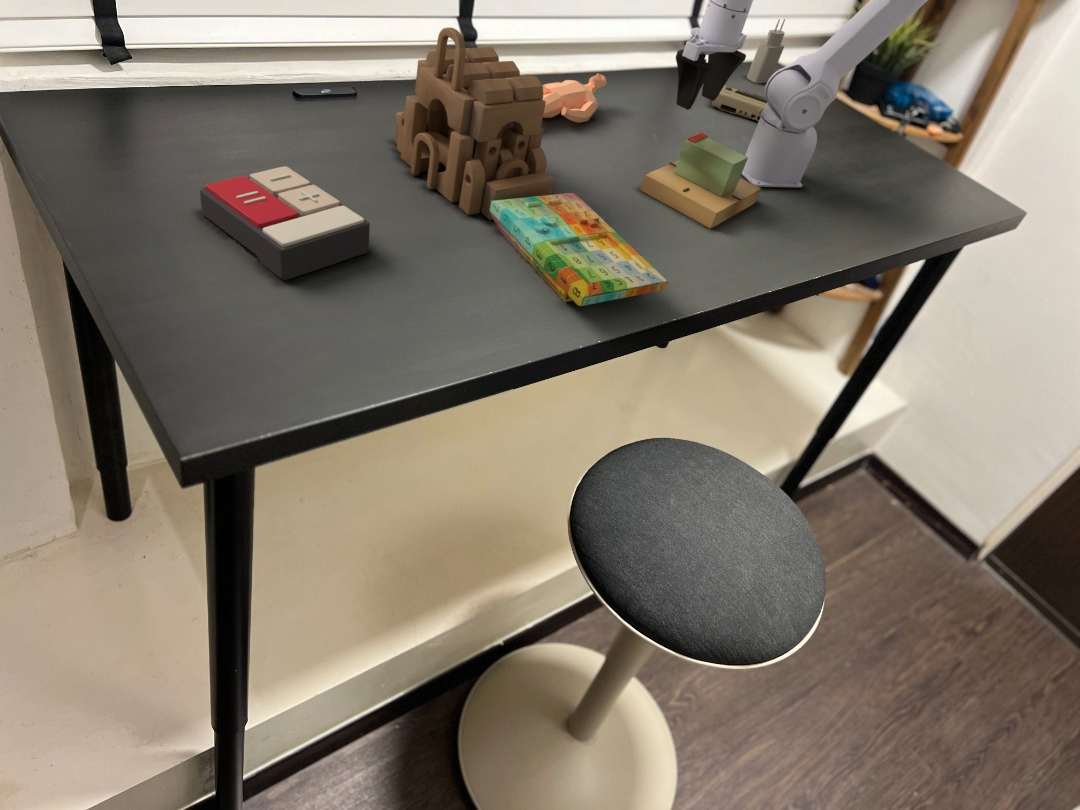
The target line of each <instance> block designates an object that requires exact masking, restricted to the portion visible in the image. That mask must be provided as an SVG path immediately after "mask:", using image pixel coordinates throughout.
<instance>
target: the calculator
mask: <svg viewBox="0 0 1080 810" xmlns="http://www.w3.org/2000/svg"><path fill="white" fill-rule="evenodd" d="M199 197H200V206H201V212H202V213H201V214H202V216H204V217H205V218H207V219H208V220H209V221H211V222H212V223H213V224H214V225H216V226H217V227H218V228H220V229H221V230H223V231H224V232H225V233H226V234H228V235H229V236H230V237H231V238H233V239H234V240H235V241H237V242H238V243H240V244H241V245H242V246H243V247H245V248H246V249H247V250H249V251H250V252H251V253H253V254H254V255H255V256H257V259H258V260H259V261H260V263H261V264H262V266H263V267H265V268H266V269H267V270H269V271H270V272H271V273H273V274H274V275H276V276H277V277H278V278H279V279H281V280H283V281H288V280H291V279H294V278H297V277H299V276H303V275H305V274H309V273H312V272H315V271H318V270H320V269H322V268H323V269H324V268H326V267H329V266H331V265H335V264H337V263H341V262H343V261H347V260H349V259H352V258H355V257H358V256H361V255H364V254H367V253H368V252H369V251H370V229H371V227H370V226H371V225H370V224H371V223H370V222H369V221H368V220H367V219H365V218H364V217H362V216H361V215H359V214H358V213H356V212H355V211H354V210H352V209H350V208H349V207H347V206H346V205H344V204H343V203H341V202H340V200H338V199H337V198H336V197H334V196H332V195H331V194H329V193H328V192H326V191H325V190H323V189H322V188H320V187H319V186H318V185H315V184H312V183H311V181H310V180H308V179H307V178H305V177H303V176H302V175H300V174H299V173H297V172H296V171H294V170H293V169H291V168H290V167H288V166H286V165H285V166H280V167H275V168H271V169H267V170H263V171H258V172H254V173H250V174H249V176H245V175H240V176H236V177H232V178H227V179H223V180H219V181H215V182H210V183H207V184H205V187H201V188H200V189H199Z"/></svg>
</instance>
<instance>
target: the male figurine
mask: <svg viewBox="0 0 1080 810" xmlns="http://www.w3.org/2000/svg"><path fill="white" fill-rule="evenodd" d="M606 85H607V77H606V76H605V75H603V74H600V73H596V75H593V76H591V77H590V78H589V80H588V83H587V84H582V83H581V82H579V81H578V80H574V79H573V80H572V79H565V80H564V81H562V82H559V81H557V82H550V83H545V84H542V86H543V100H544V101H546V104H545V109H544V113H543V118H544V119H551V118H554V117H555V116H557V115H560V114H561V116H563V117H564V118H565V119H567V120H569V121H572V122H574V123H584V122H588V121H590V119H591V118H592V116H593V115H594V113H595V112H596V111H597V109H598V100H597V99H596V97H595V95H594V94H596V91H597V90H598V89H601V88H603V87H605V86H606Z"/></svg>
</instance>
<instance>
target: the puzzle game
mask: <svg viewBox="0 0 1080 810" xmlns="http://www.w3.org/2000/svg"><path fill="white" fill-rule="evenodd" d="M489 211H490V213H491V215H492V218H493V220H492V221H493V222H494V223H495V225H496V227H497V228H498V230H499V231H500V233H501V235H503V237H504V238H505V239H506V240H507V241H508V242H509V243H510V244H511V245H512V246H513V247H514V248H515V250H516V251H517V252H518V253H519V254H520V255H521V256H522V257H523V259H525V261H527V263H528V264H529V265H530V266H531V267H532V268H533V269H534V270H535V271H536V272H537V273H538V274H539V275H540V277H541V278H542V279H543V280H544V281H545V282H546V283H547V284H548V285H549V286H550V288H552V290H554V292H555V293H556V294H557V295H558V296H559V297H560V298H561V299H562V301H564V302H565V303H569V302H574V304H575V305H576V306H578V307H583V306H589V305H595V304H599V303H605V302H610V301H614V300H620V299H625V298H629V297H635V296H640V295H645V294H651V293H656V292H660V291H666V290H667V286H668V285H669V284H668V283H669V281H668V280H667V279H666V278H665V277H664V276H663V275H662V274H660V272H658V270H656V269H655V268H654V267H653V266H652V265H651V264H650V263H649V262H648V261H647V260H646V259H645V258H644V257H643V256H642V255H641V254H640V253H639V252H637V251H636V250H635V249H634V248H633V247H632V246H631V245H630V244H629V243H628V242H627V241H626V240H625V239H624V238H623V237H622V236H621V235H620V234H618V233H617V232H616V231H615V229H613V227H611V226H610V225H609V224H608V223H607V222H606V221H605V220H604V219H603V218H602V217H601V216H600V215H598V214H597V213H596V211H594V210H593V209H592V208H591V207H590V206H589V205H588V204H587V203H586V202H585V201H584V200H583V199H582V198H581V197H579V195H577V193H574V192H564V193H557V194H556V193H555V194H552V195H544V196H534V197H524V198H515V199H505V200H495V201H491V203H490V209H489Z"/></svg>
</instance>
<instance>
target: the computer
mask: <svg viewBox="0 0 1080 810" xmlns="http://www.w3.org/2000/svg"><path fill="white" fill-rule="evenodd" d="M766 104H767V100H766V98H765V96H762V95H758V94H756V93H750V92H749V91H745V90H741V89H740V88H738V89H736V88H733V87H732V86H731V85H726V84H725V85H724V87H723V88H722V90H721V92H720V93H719V95H718V96H717V98H716V99H715V101H711V107H714V108H717V109H719V110H720V111H723V112H727V113H730V114H732V115H737V116H740V117H743V118H746V119H752V120H755V121H757V122H759V120H760V117H761V115H762V112H763V110H764V109H765V106H766Z"/></svg>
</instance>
